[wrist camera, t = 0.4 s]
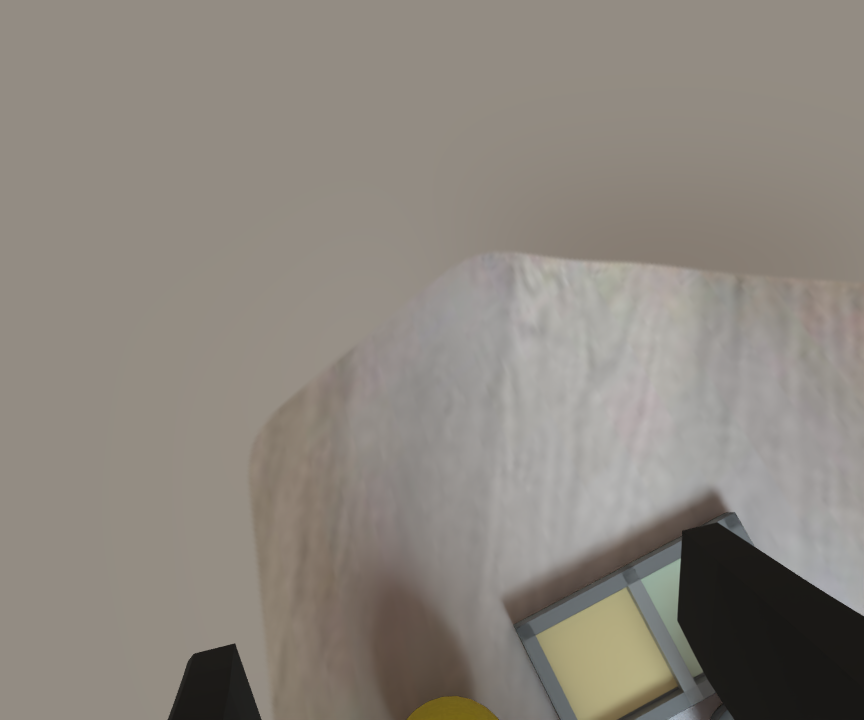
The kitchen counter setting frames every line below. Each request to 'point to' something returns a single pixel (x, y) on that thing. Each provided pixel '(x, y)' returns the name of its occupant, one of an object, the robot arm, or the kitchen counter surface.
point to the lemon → (452, 710)
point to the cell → (721, 714)
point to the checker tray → (621, 643)
